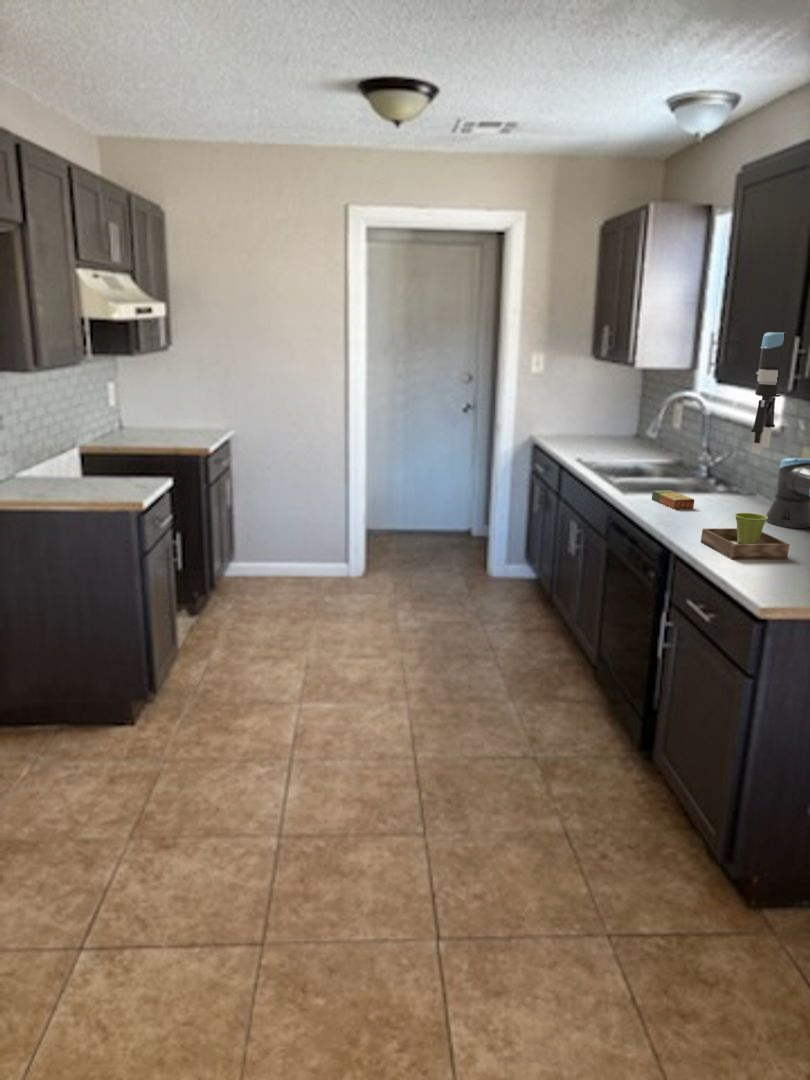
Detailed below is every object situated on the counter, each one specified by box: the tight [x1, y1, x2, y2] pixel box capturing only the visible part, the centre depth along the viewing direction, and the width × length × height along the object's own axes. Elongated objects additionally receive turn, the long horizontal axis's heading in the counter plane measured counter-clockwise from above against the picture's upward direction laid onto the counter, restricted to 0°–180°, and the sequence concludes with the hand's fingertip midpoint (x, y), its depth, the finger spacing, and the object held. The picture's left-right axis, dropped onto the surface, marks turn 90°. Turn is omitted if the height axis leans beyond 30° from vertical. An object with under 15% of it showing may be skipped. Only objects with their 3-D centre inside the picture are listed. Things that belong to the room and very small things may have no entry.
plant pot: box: [734, 512, 768, 544], centre depth 255 cm, size 9×9×9 cm
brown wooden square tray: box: [700, 527, 791, 560], centre depth 252 cm, size 18×18×4 cm
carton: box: [651, 489, 695, 510], centre depth 310 cm, size 8×16×4 cm, turn 14°
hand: (760, 450), depth 265 cm, fingers open, 13 cm apart
